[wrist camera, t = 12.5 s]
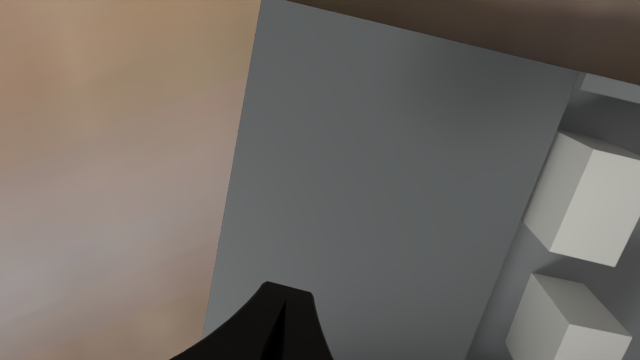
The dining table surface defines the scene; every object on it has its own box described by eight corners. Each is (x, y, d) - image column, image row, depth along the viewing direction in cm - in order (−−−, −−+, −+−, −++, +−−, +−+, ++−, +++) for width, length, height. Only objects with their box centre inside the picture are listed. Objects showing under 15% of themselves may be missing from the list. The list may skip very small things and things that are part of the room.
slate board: (436, 369, 24) (445, 406, 22) (215, 317, 24) (200, 348, 22) (552, 66, 19) (580, 71, 17) (273, -1, 19) (262, -6, 17)
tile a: (504, 342, 23) (553, 352, 23) (534, 404, 19) (593, 416, 19) (531, 272, 22) (583, 283, 22) (569, 324, 18) (632, 337, 18)
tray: (638, 417, 24) (676, 468, 22) (436, 369, 24) (447, 414, 21) (805, 128, 19) (883, 144, 17) (552, 66, 19) (586, 72, 16)
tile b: (513, 211, 21) (567, 224, 21) (549, 251, 17) (614, 267, 17) (546, 126, 20) (603, 140, 20) (593, 149, 16) (664, 166, 16)
